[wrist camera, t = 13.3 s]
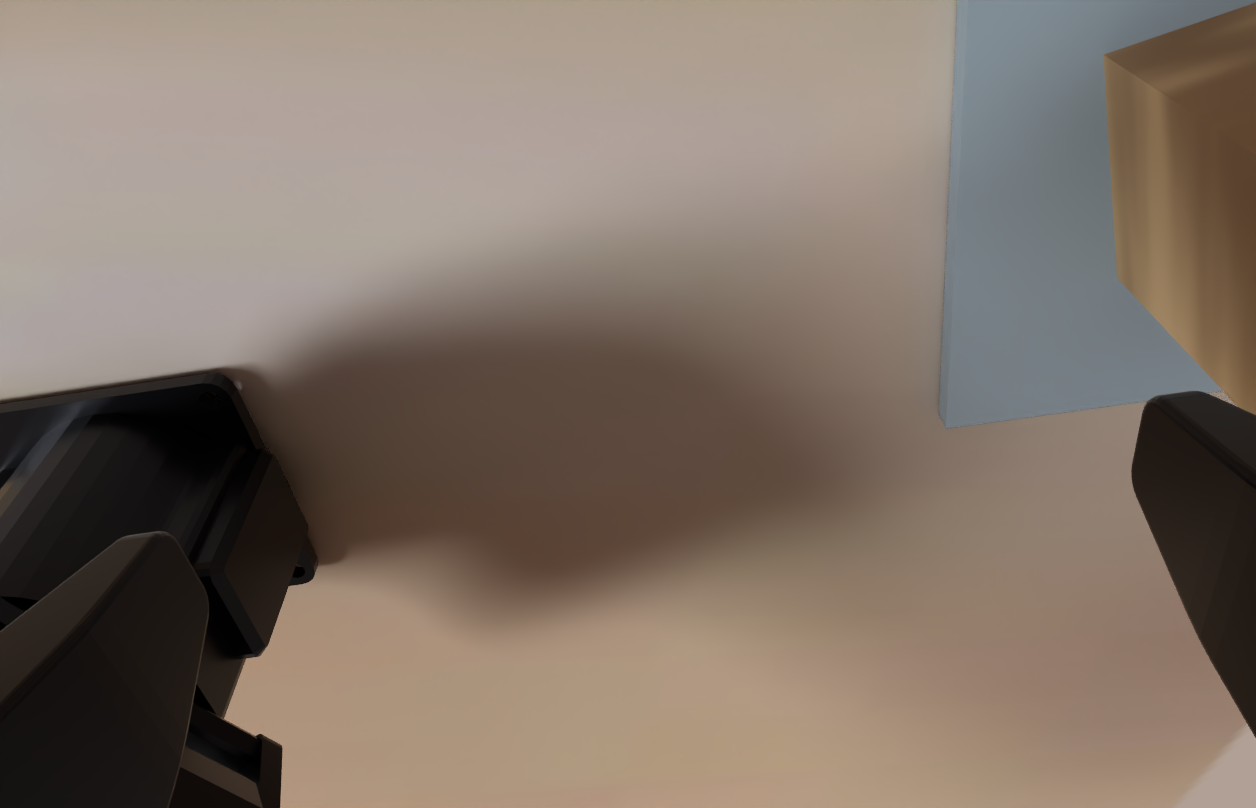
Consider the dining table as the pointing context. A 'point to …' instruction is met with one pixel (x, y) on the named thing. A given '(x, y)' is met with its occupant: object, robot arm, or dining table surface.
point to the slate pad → (1046, 217)
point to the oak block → (1190, 189)
